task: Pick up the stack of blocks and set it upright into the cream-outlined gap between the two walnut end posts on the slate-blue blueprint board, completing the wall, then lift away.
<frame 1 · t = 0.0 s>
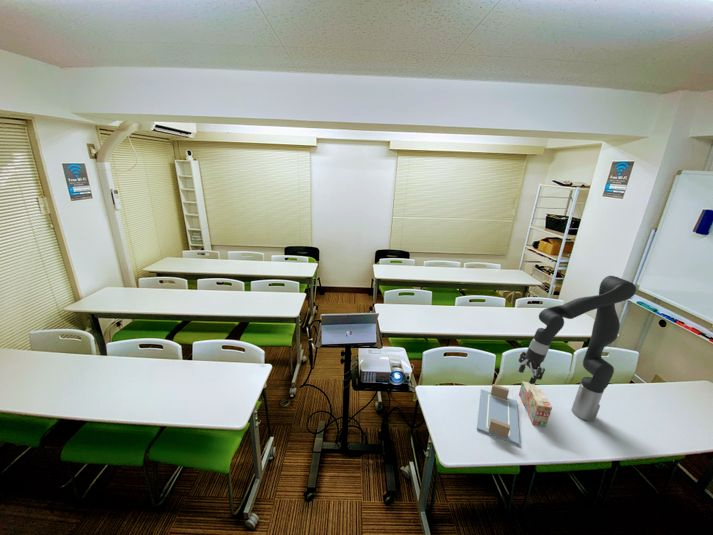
hand: (525, 377, 142), 22 cm above the table, tool pointing down, fingers open, 8 cm apart
stack of blocks: (531, 410, 152), on the table
blueprint board: (497, 415, 147), on the table
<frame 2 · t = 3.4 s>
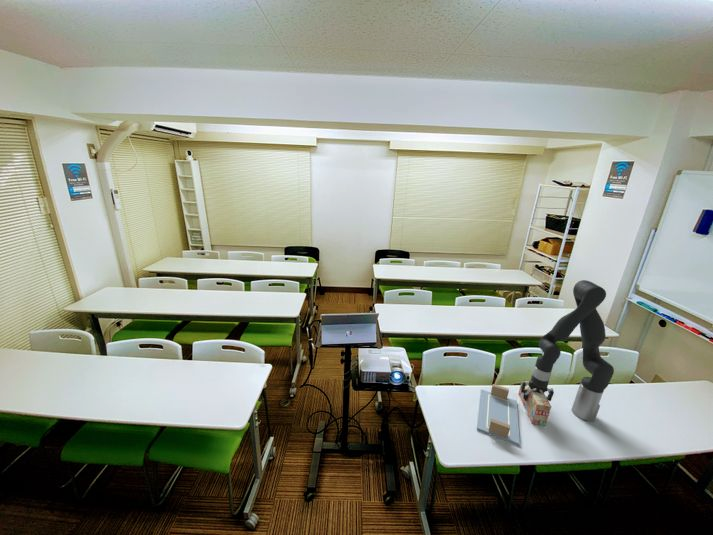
hand: (533, 402, 150), 5 cm above the table, tool pointing down, fingers closed on stack of blocks, 7 cm apart
stack of blocks: (530, 409, 152), on the table, touching gripper
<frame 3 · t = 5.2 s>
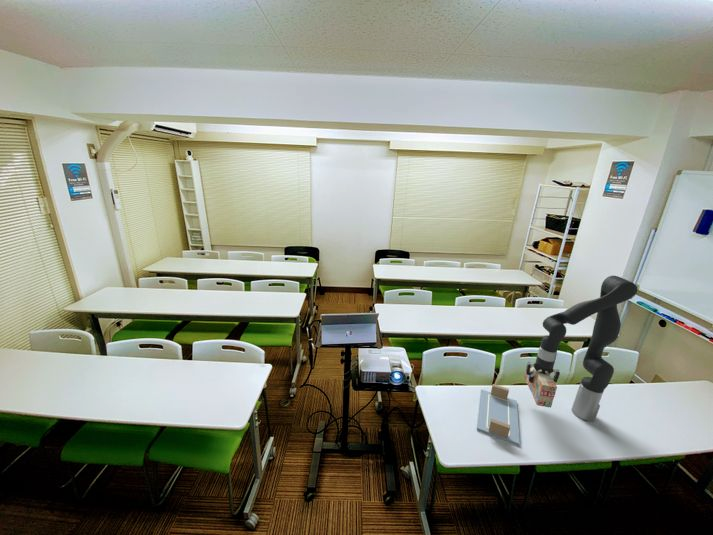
hand: (538, 384, 147), 16 cm above the table, tool pointing down, fingers closed on stack of blocks, 7 cm apart
stack of blocks: (536, 391, 149), point 11 cm above the table, touching gripper
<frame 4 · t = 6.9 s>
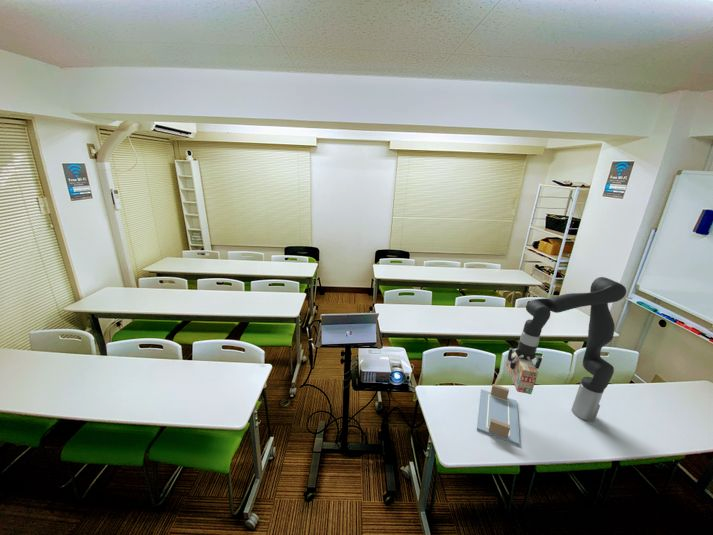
hand: (520, 371, 141), 26 cm above the table, tool pointing down, fingers closed on stack of blocks, 7 cm apart
stack of blocks: (517, 379, 143), point 21 cm above the table, touching gripper
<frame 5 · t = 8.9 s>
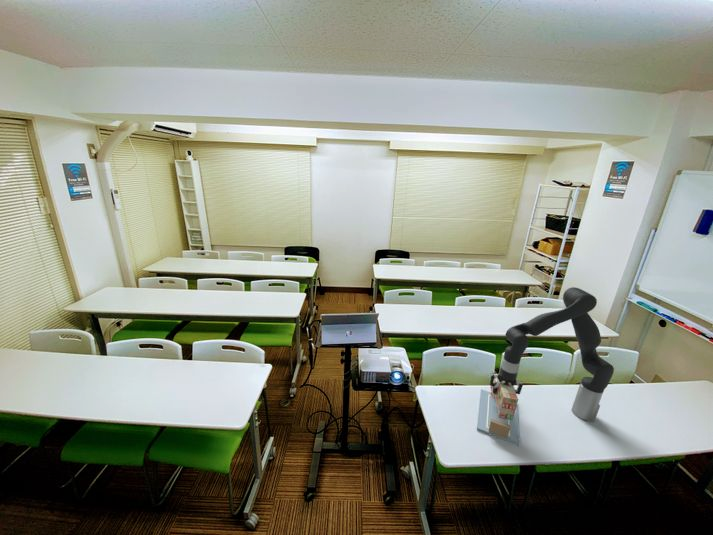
hand: (502, 395, 143), 12 cm above the table, tool pointing down, fingers closed on stack of blocks, 7 cm apart
stack of blocks: (500, 403, 145), point 7 cm above the table, touching gripper
when the fingers open (7 cm above the table, at t = 10.5 s): stack of blocks stays where it is, resting on blueprint board.
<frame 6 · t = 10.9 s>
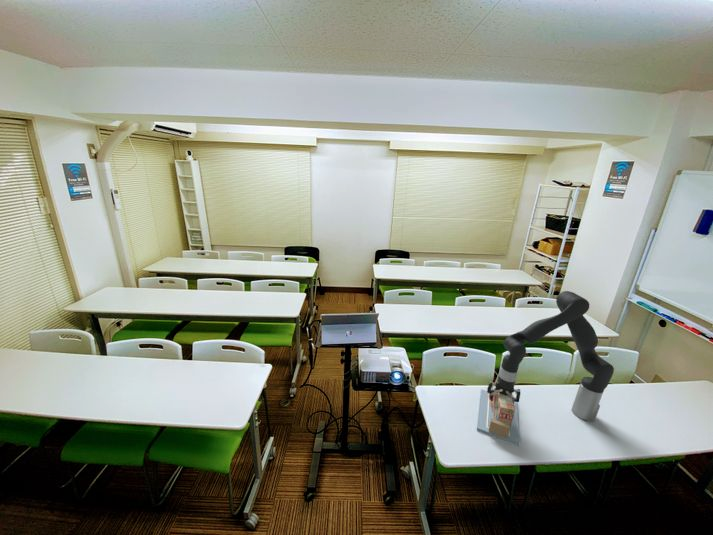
hand: (500, 403, 145), 8 cm above the table, tool pointing down, fingers open, 8 cm apart
stack of blocks: (498, 412, 147), point 1 cm above the table, touching blueprint board
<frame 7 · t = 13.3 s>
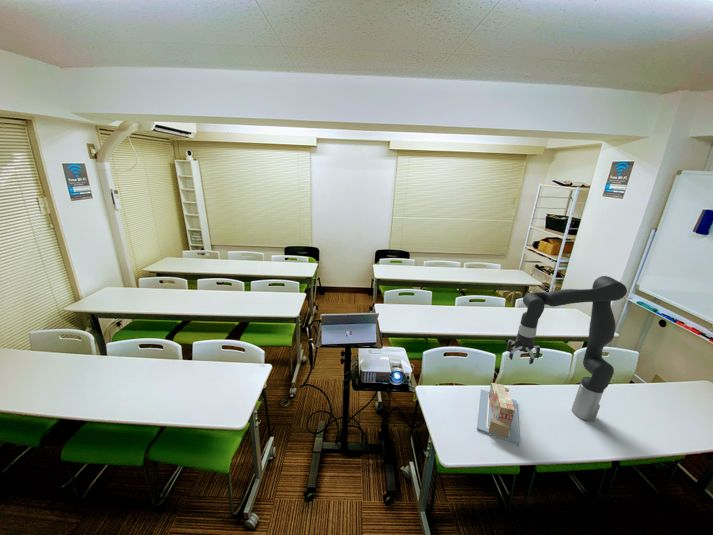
hand: (520, 361, 147), 27 cm above the table, tool pointing down, fingers open, 8 cm apart
nothing on the table moved.
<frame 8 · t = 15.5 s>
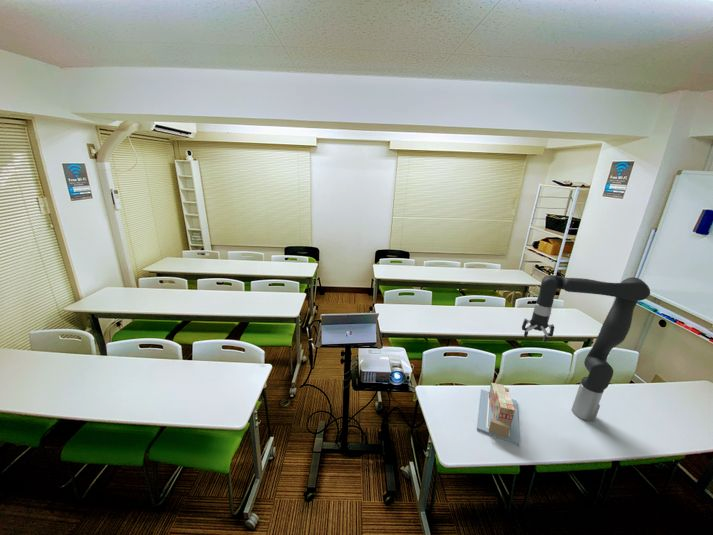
hand: (534, 339, 156), 33 cm above the table, tool pointing down, fingers open, 8 cm apart
nothing on the table moved.
at the end: stack of blocks 0.6 cm off-centre on the blueprint board, point 1.1 cm above the blueprint board's base; stack of blocks tilted 0°; the gripper is holding nothing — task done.
